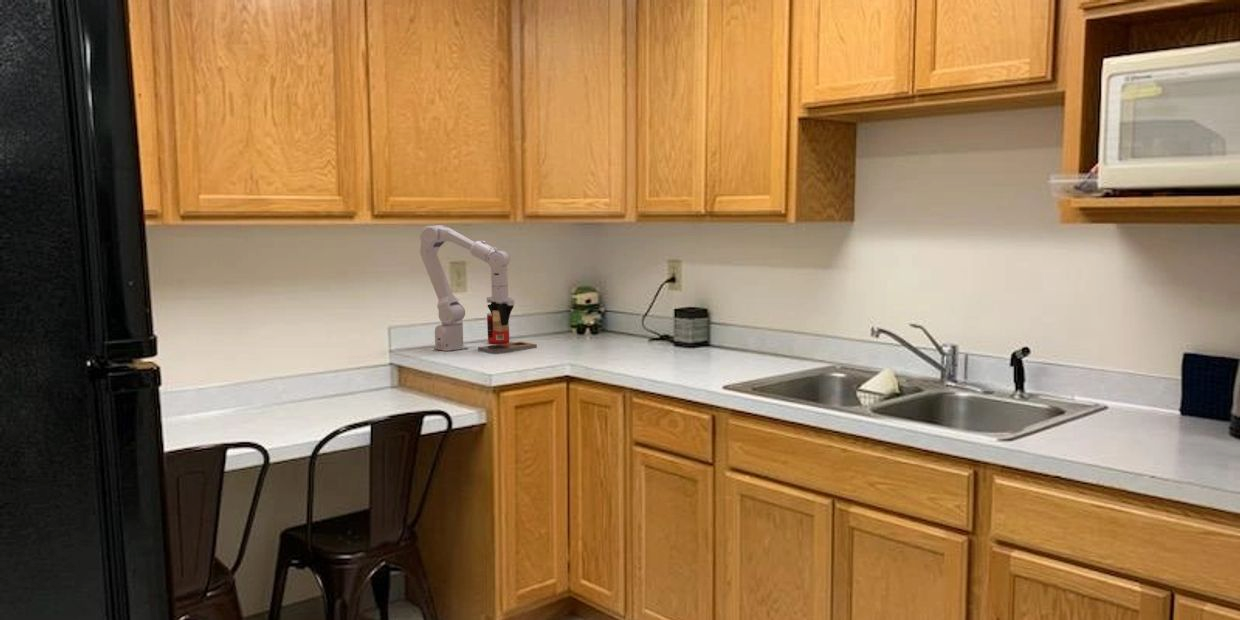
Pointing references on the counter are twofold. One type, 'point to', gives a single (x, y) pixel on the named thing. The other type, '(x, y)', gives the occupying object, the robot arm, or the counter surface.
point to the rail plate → (507, 347)
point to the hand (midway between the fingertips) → (501, 324)
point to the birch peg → (498, 322)
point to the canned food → (496, 333)
